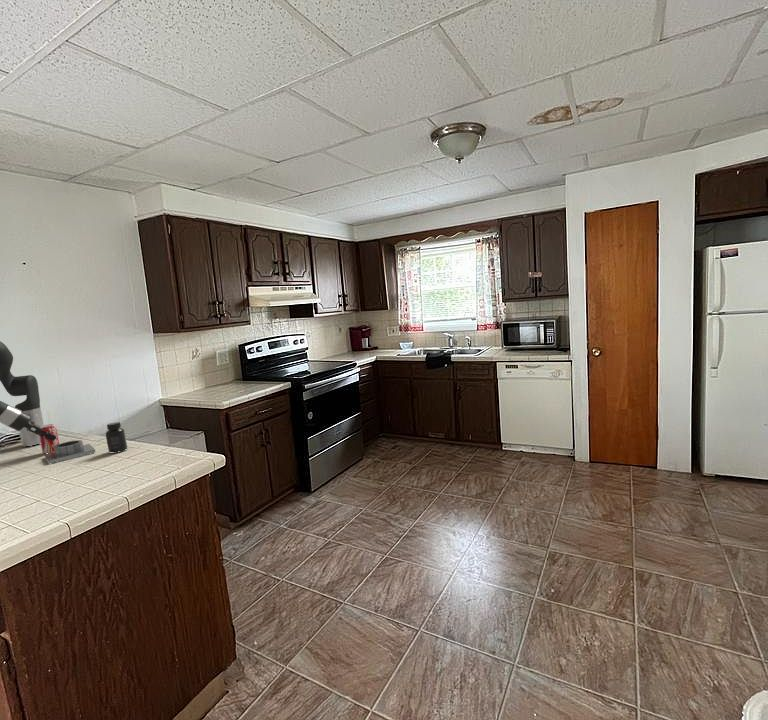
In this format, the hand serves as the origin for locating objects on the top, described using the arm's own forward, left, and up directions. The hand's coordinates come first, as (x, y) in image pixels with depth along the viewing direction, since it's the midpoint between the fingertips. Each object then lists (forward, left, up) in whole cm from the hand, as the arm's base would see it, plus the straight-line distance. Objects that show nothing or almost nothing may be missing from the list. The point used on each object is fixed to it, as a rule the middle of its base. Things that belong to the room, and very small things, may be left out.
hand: (53, 437), depth 191 cm
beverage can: (0, -2, -6) cm, 7 cm away
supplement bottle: (+29, +18, -6) cm, 35 cm away
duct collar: (+15, +3, -6) cm, 17 cm away
